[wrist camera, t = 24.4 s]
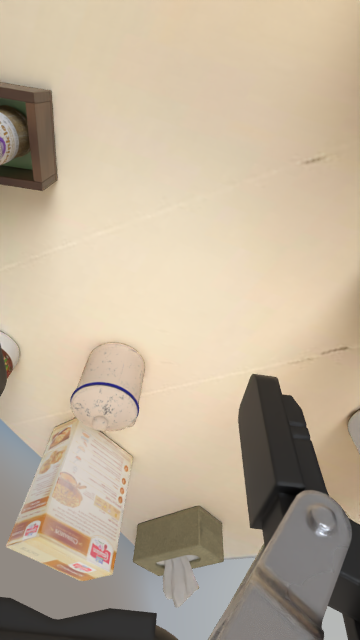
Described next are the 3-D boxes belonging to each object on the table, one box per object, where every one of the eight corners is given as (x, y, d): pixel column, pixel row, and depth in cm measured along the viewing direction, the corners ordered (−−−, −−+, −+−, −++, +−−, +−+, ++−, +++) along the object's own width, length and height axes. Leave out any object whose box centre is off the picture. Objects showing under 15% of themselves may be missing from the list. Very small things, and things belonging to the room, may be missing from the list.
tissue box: (160, 539, 87) (154, 618, 75) (136, 524, 83) (125, 605, 70) (223, 522, 80) (227, 606, 68) (200, 504, 76) (200, 591, 63)
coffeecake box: (52, 427, 62) (2, 547, 46) (80, 414, 59) (37, 536, 44) (107, 467, 69) (80, 583, 53) (134, 456, 66) (114, 575, 50)
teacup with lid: (76, 349, 51) (48, 411, 41) (130, 333, 48) (114, 395, 39) (113, 400, 57) (96, 465, 48) (163, 388, 55) (155, 454, 45)
